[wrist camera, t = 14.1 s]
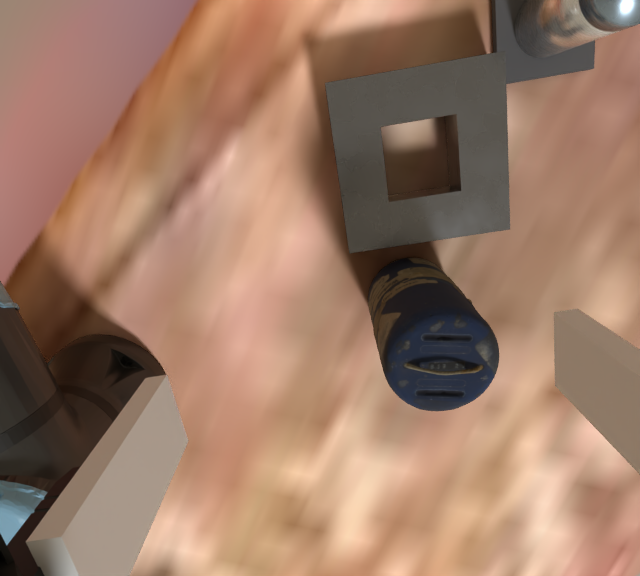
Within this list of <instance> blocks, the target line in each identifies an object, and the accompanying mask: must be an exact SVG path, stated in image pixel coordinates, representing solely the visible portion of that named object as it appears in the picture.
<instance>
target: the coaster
mask: <svg viewBox="0 0 640 576" xmlns="http://www.w3.org/2000/svg"><path fill="white" fill-rule="evenodd" d="M525 1H526V0H492V28H493V53H496V52H502V51H505V56H506V84H509V83H515V82H521V81H526V80H532V79H538V78H544V77H550V76H555V75H561V74H567V73H573V72H579V71H584V70H590V69H593V68H594V53H595V40H594V41H591V42H588V43H585V44H583V45H580V46H577V47H574V48H572V49H569V50H566V51H563V52H561V53H558V54H555V55H552V56H550V57H546V58H535V57H532V56H529V55H527V54H526V53H525V52H523V51H522V50H521V48H520V47H519V45H518V43H517V41H516V38H515V30H514V29H515V20H516V17H517V14H518V12H519V10H520V8H521V7H522V5H523V4H524V3H525Z"/></svg>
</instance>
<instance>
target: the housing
mask: <svg viewBox="0 0 640 576" xmlns="http://www.w3.org/2000/svg"><path fill="white" fill-rule="evenodd" d="M325 87H326V94H327V101H328V108H329V115H330V122H331V129H332V136H333V143H334V150H335V157H336V164H337V171H338V178H339V185H340V192H341V199H342V206H343V213H344V220H345V227H346V234H347V241H348V247H349V253H355V252H361V251H368V250H375V249H381V248H388V247H395V246H402V245H408V244H415V243H422V242H428V241H435V240H442V239H448V238H455V237H462V236H468V235H475V234H482V233H488V232H495V231H502V230H509V229H510V209H509V171H508V132H507V94H506V56H505V51H502V52H496V53H490V54H485V55H479V56H474V57H468V58H462V59H457V60H451V61H446V62H440V63H434V64H429V65H423V66H417V67H412V68H406V69H401V70H395V71H389V72H384V73H378V74H372V75H367V76H361V77H356V78H350V79H344V80H339V81H333V82H328V83H325ZM442 116H445V124H446V139H447V154H448V169H449V184H450V186H446V187H439V188H433V189H427V190H420V191H414V192H408V193H401V194H395V195H389V196H388V190H387V181H386V172H385V163H384V154H383V145H382V136H381V127H383V126H389V125H395V124H401V123H407V122H413V121H418V120H424V119H430V118H436V117H442Z"/></svg>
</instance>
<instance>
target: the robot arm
mask: <svg viewBox="0 0 640 576" xmlns="http://www.w3.org/2000/svg"><path fill="white" fill-rule="evenodd" d="M19 309H20V308H19V306H18V304H17V303H14V302H13V301H12V299H11V298H10V296H9V294H8V293H7V291H6V289H5V288H4V286H3V284H2V283H1V281H0V576H130V573H131V571H132V569H133V566H134V564H135V562H136V560H137V557H138V555H139V553H140V550H141V548H142V546H143V544H144V541H145V539H146V537H147V534H148V532H149V530H150V528H151V525H152V523H153V521H154V518H155V516H156V514H157V512H158V509H159V507H160V505H161V502H162V500H163V498H164V496H165V493H166V491H167V489H168V486H169V484H170V482H171V480H172V477H173V475H174V473H175V470H176V468H177V466H178V464H179V461H180V459H181V457H182V454H183V452H184V450H185V448H186V445H187V443H188V438H187V435H186V432H185V429H184V426H183V423H182V420H181V417H180V413H179V410H178V407H177V404H176V401H175V398H174V395H173V392H172V388H171V385H170V382H169V379H168V376H167V375H165V373H164V371H163V369H162V368H161V366H160V365H159V363H158V362H157V361H156V360H155V359H154V358H153V357H152V356H151V355H150V354H149V353H148V352H147V351H146V350H144V349H143V348H141V347H140V346H138V345H136V344H134V343H133V342H130V341H128V340H125V339H123V338H119V337H115V336H110V335H91V336H86V337H82V338H79V339H77V340H75V341H73V342H71V343H69V344H68V345H67V346H65V347H64V348H63V349H62V350H60V351H59V352H58V353H57V354H55V355H54V356H53V357H52V358H51V360H50V361H49V362H48V363H46V361H45V359H44V357H43V356H42V354H41V352H40V350H39V348H38V346H37V345H36V343H35V341H34V339H33V337H32V335H31V333H30V332H29V330H28V328H27V326H26V324H25V322H24V321H23V319H22V317H21V315H20V313H19V311H18V310H19ZM554 354H555V386H556V387H557V388H558V389H559V390H560V391H561V392H562V393H563V394H564V396H565V397H566V398H567V399H568V400H569V401H570V402H571V403H572V404H573V405H574V406H575V407H576V408H577V409H578V410H579V411H580V412H581V413H582V414H583V415H584V416H585V418H586V419H587V420H588V421H589V422H590V423H591V424H592V425H593V426H594V427H595V428H596V429H597V430H598V431H599V432H600V433H601V434H602V435H603V436H604V437H605V438H606V440H607V441H608V442H609V443H610V444H611V445H612V446H613V447H614V448H615V449H616V450H617V451H618V452H619V453H620V454H621V455H622V456H623V457H624V458H625V459H626V461H627V462H628V463H629V464H630V465H631V466H632V467H633V468H634V469H635V470H636V471H637V472H638V473H639V474H640V349H638V348H637V347H635V346H634V345H632V344H631V343H629V342H628V341H626V340H624V339H623V338H621V337H620V336H618V335H617V334H615V333H614V332H612V331H611V330H609V329H608V328H606V327H605V326H603V325H602V324H600V323H599V322H597V321H596V320H594V319H593V318H591V317H589V316H588V315H586V314H585V313H583V312H582V311H580V310H579V309H573V310H567V311H560V312H554Z"/></svg>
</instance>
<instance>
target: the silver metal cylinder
mask: <svg viewBox="0 0 640 576" xmlns="http://www.w3.org/2000/svg"><path fill="white" fill-rule="evenodd" d="M638 24H640V0H526V1H525V3H524V4H523V5H522V7H521V8H520V10H519V12H518V14H517V17H516V20H515V29H514V30H515V38H516V41H517V43H518V45H519V47H520V48H521V50H522V51H523V52H525V53H526V54H527V55H529V56H532V57H535V58H546V57H550V56H552V55H555V54H558V53H561V52H563V51H566V50H569V49H572V48H574V47H577V46H580V45H583V44H585V43H588V42H591V41H594V40H596V39H599V38H602V37H605V36H607V35H610V34H613V33H616V32H618V31H621V30H624V29H627V28H629V27H632V26H635V25H638Z"/></svg>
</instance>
